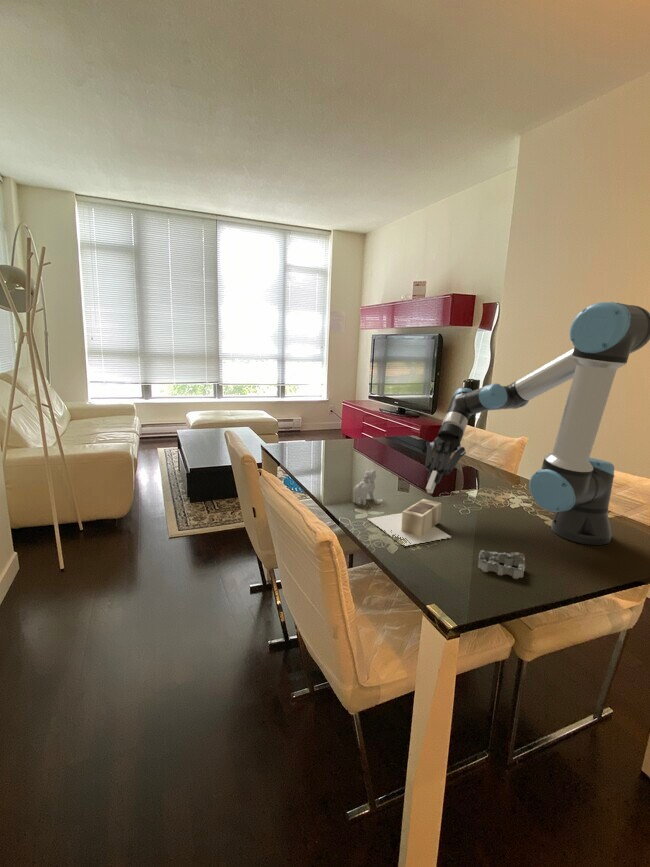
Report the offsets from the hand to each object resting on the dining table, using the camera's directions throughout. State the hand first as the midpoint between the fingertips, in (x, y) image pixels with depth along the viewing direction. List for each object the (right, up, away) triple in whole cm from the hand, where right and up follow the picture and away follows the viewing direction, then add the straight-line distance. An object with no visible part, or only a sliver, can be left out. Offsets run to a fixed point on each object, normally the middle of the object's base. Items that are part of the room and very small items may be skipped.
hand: (429, 490), depth 128 cm
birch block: (+2, -6, +4) cm, 8 cm away
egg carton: (+12, -16, -24) cm, 31 cm away
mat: (-7, -11, -2) cm, 13 cm away
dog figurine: (-18, -6, +21) cm, 28 cm away
